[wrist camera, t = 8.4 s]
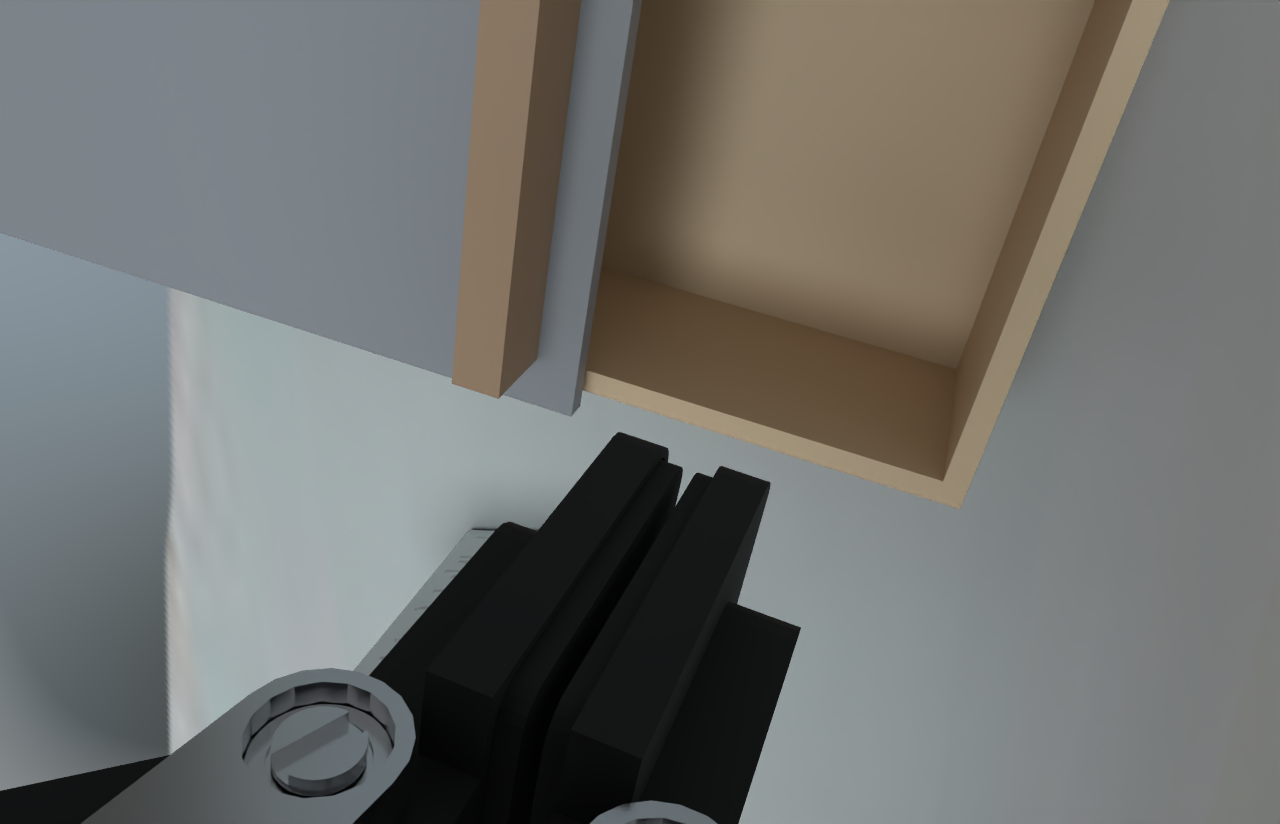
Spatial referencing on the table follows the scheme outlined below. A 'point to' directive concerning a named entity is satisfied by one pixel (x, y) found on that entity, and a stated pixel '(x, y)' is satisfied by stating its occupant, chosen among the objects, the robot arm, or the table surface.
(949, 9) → the tray
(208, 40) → the lid
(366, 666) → the small box
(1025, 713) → the table surface
